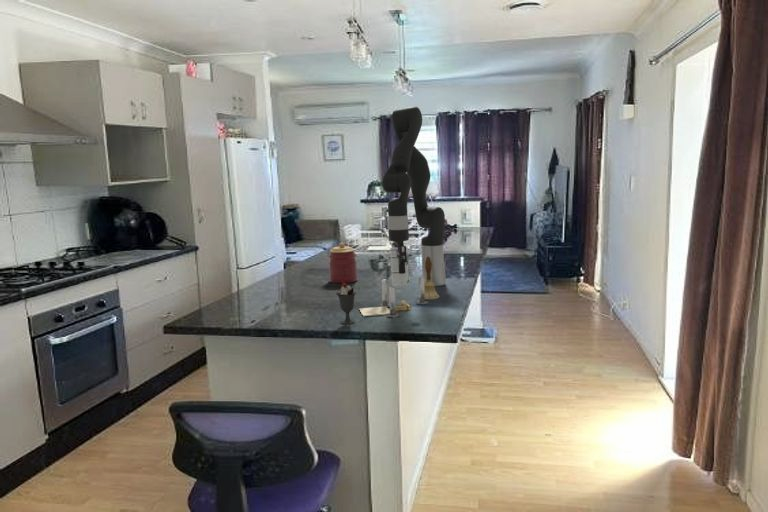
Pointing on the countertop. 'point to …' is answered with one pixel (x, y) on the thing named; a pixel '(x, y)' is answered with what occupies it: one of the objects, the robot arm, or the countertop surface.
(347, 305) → the sundae
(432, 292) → the whisk broom
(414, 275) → the countertop surface
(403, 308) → the grey rods with bases
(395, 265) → the syrup box
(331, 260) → the canister
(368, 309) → the pad
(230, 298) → the countertop surface
